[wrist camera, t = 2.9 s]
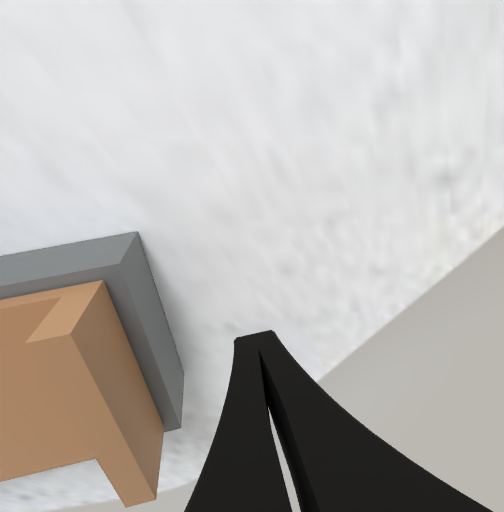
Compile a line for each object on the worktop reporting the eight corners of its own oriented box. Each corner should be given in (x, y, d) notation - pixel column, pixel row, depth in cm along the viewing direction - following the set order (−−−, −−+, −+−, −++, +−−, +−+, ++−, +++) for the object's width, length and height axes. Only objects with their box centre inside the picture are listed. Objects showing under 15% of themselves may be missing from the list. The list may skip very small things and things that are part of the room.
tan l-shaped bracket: (-8, 469, 12) (-61, 557, 9) (-137, 326, 8) (-264, 403, 6) (164, 427, 12) (155, 499, 10) (103, 279, 9) (70, 334, 7)
